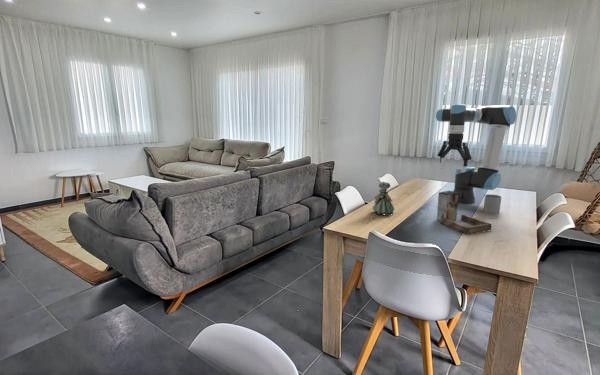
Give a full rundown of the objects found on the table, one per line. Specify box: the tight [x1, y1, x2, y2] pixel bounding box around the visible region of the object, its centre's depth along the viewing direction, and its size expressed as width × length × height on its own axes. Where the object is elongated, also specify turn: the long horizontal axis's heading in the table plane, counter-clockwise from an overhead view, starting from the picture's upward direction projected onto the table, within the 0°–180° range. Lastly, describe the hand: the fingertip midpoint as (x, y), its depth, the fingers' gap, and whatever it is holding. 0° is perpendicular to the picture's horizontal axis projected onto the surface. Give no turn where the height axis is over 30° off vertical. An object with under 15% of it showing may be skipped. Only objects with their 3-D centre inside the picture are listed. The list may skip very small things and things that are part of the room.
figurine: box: [372, 181, 395, 215], centre depth 193 cm, size 14×14×20 cm
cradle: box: [439, 213, 492, 235], centre depth 169 cm, size 18×16×4 cm
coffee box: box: [436, 190, 459, 221], centre depth 179 cm, size 9×6×16 cm
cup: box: [483, 194, 502, 215], centre depth 192 cm, size 8×8×10 cm
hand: (452, 170), depth 182 cm, fingers open, 13 cm apart
